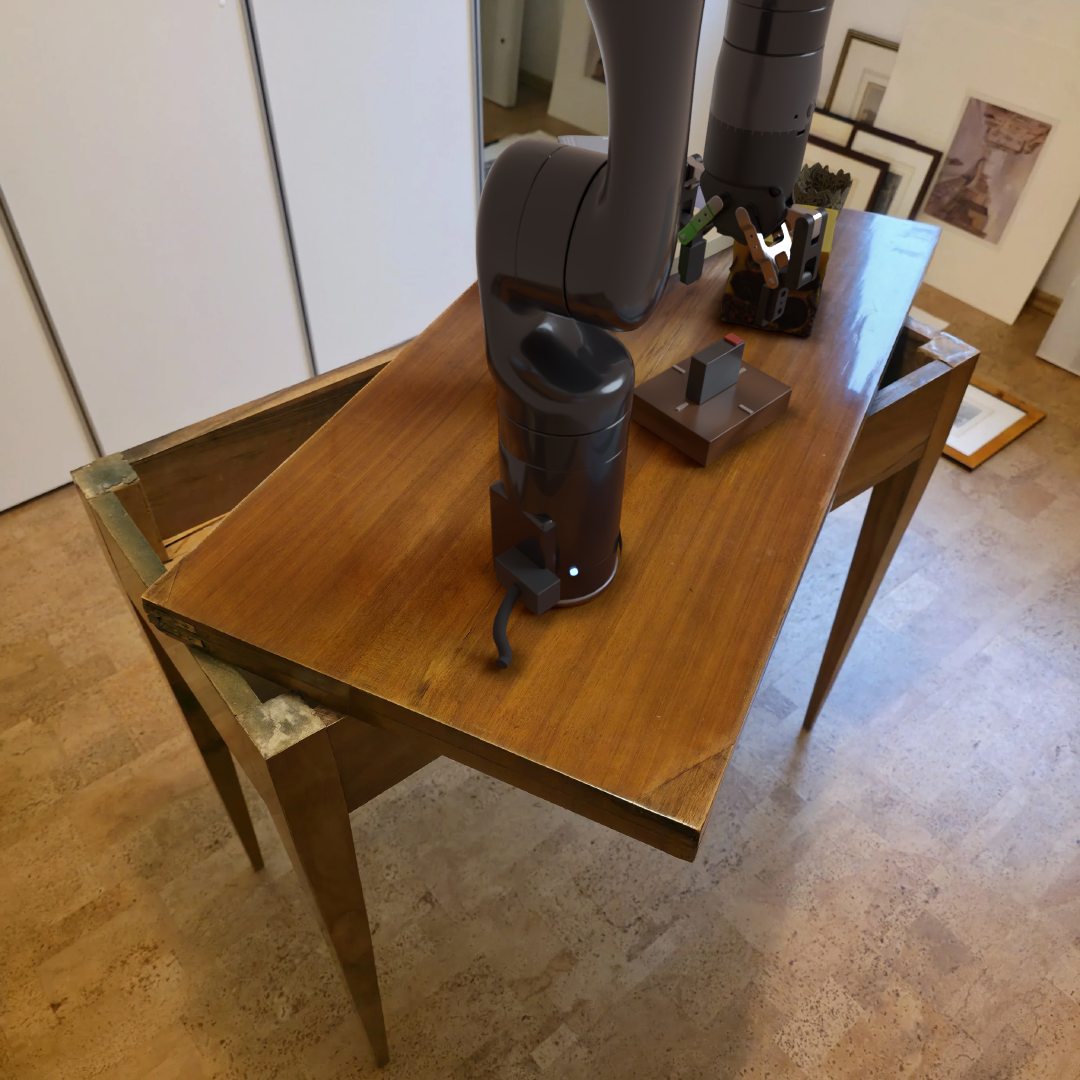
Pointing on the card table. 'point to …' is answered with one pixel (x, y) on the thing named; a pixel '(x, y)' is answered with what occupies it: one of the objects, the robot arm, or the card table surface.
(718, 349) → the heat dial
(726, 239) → the kettle base
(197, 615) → the card table surface
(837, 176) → the cup
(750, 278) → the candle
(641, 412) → the dial panel
